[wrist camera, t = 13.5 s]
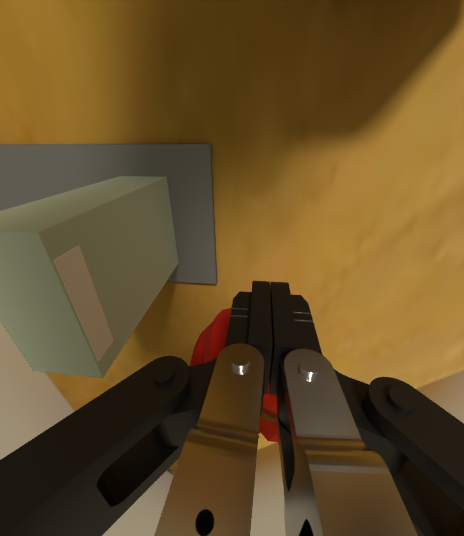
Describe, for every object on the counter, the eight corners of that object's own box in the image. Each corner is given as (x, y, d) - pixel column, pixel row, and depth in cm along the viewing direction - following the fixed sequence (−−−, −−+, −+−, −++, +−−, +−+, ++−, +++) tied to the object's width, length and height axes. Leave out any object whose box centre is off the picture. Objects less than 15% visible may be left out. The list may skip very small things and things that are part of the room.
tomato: (236, 377, 28) (226, 468, 20) (178, 313, 24) (139, 397, 16) (323, 351, 24) (350, 450, 16) (272, 269, 20) (277, 351, 12)
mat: (-49, 144, 18) (-55, 144, 17) (210, 143, 16) (209, 143, 15) (18, 270, 23) (14, 272, 23) (217, 281, 21) (216, 284, 21)
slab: (119, 176, 17) (-63, 228, 8) (167, 176, 17) (39, 232, 7) (139, 261, 20) (32, 370, 11) (179, 263, 20) (103, 378, 11)
